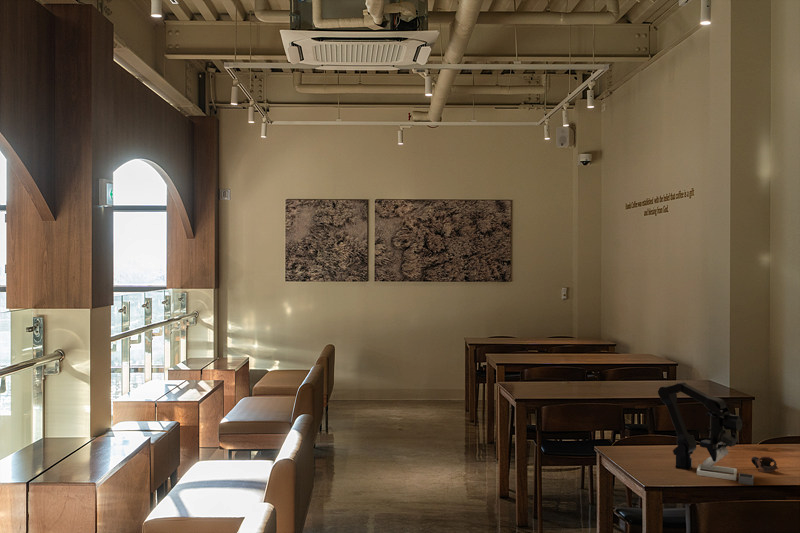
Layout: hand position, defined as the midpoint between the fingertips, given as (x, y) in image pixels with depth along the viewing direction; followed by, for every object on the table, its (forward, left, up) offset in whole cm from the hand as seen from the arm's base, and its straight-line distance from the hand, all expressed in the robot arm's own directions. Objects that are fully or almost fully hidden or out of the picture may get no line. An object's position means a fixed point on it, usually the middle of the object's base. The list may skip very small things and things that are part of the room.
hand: (716, 460), depth 310 cm
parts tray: (0, 0, -7) cm, 7 cm away
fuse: (-4, +2, -3) cm, 6 cm away
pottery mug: (+19, +18, -7) cm, 27 cm away
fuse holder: (+12, -7, -7) cm, 16 cm away
